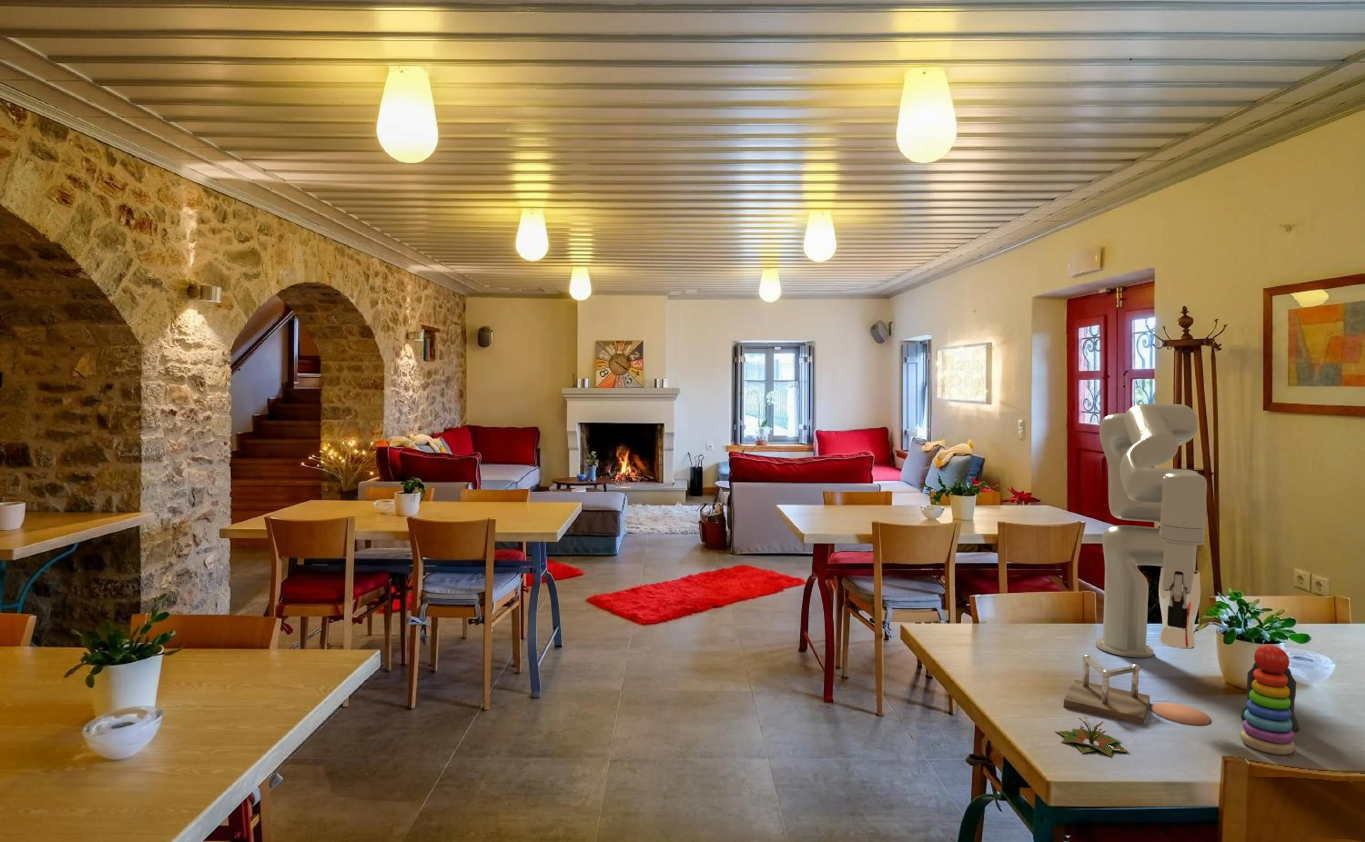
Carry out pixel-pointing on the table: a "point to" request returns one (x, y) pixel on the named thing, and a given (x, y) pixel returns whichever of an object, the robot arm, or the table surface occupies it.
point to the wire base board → (1117, 706)
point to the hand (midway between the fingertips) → (1178, 622)
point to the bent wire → (1106, 674)
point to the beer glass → (1186, 636)
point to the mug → (1292, 688)
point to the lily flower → (1091, 739)
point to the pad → (1181, 713)
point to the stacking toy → (1269, 704)
